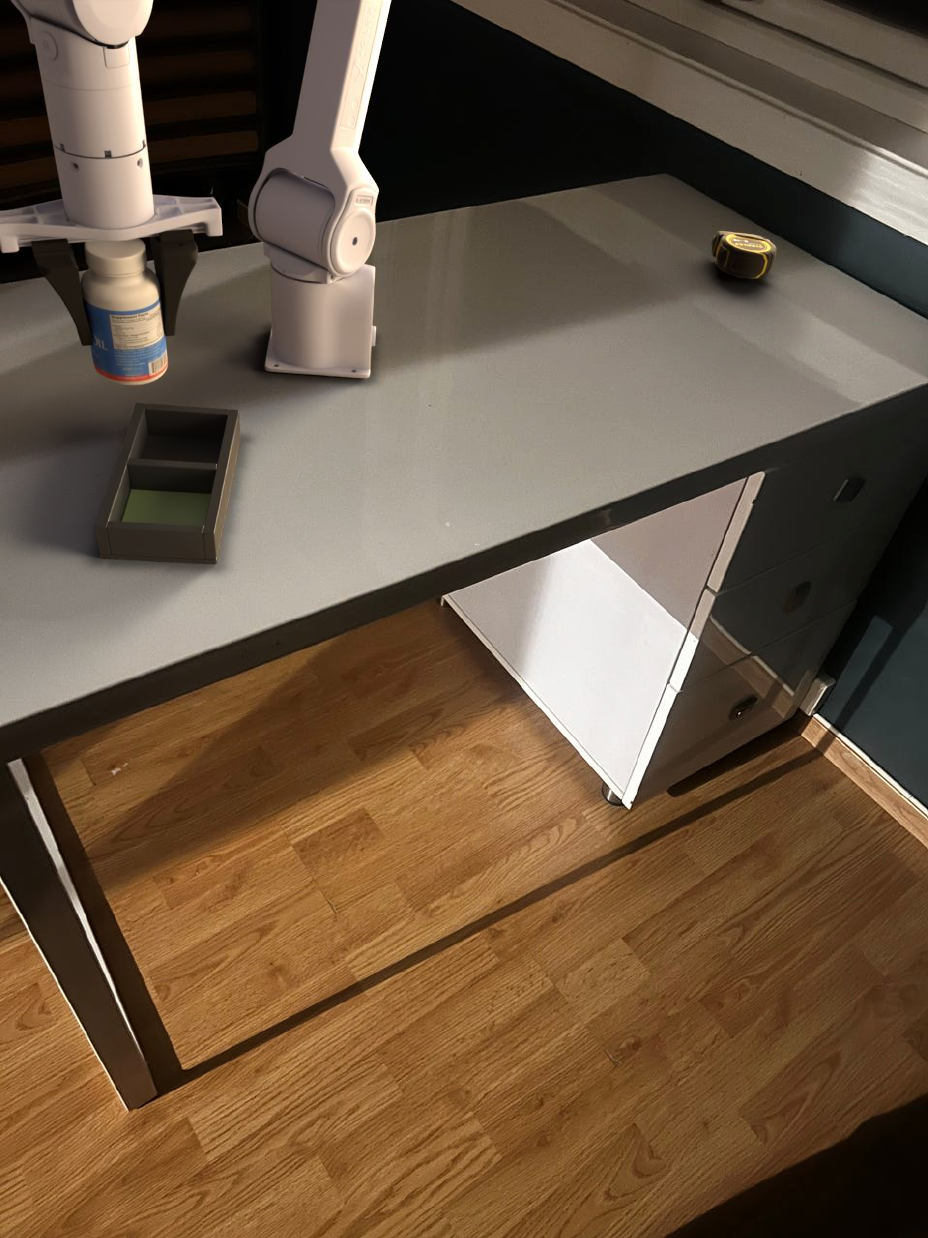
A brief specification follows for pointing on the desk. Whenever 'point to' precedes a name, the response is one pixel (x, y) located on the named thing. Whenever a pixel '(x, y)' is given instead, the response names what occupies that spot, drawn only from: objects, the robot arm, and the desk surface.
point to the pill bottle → (124, 312)
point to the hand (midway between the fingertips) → (127, 333)
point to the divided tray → (170, 485)
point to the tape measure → (743, 254)
